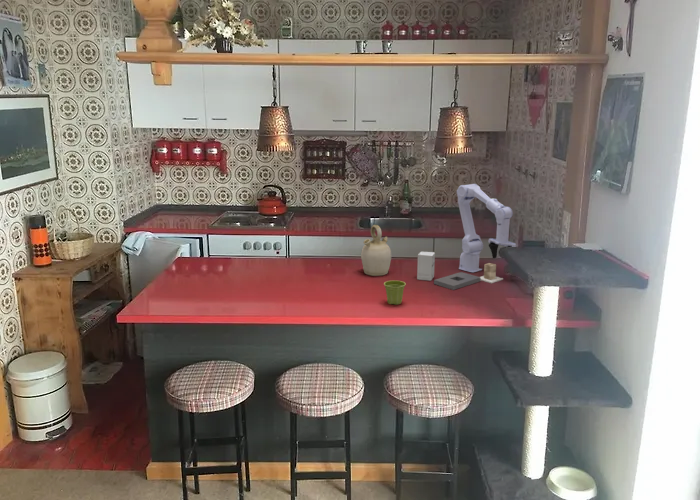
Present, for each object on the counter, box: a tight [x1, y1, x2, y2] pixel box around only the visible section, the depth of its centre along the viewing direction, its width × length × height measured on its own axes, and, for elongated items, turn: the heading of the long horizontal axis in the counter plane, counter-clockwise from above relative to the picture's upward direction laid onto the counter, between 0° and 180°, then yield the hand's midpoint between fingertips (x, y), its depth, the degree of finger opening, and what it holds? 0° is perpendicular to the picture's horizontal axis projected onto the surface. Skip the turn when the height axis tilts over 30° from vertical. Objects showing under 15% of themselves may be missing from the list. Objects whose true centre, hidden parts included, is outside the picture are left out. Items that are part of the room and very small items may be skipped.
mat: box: [480, 275, 504, 284], centre depth 288 cm, size 9×9×1 cm
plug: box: [483, 262, 497, 280], centre depth 287 cm, size 4×4×7 cm
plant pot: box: [383, 280, 406, 305], centre depth 255 cm, size 9×9×9 cm
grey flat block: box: [433, 271, 482, 291], centre depth 283 cm, size 12×20×2 cm, turn 130°
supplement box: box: [416, 251, 436, 282], centre depth 289 cm, size 7×7×13 cm
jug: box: [360, 224, 392, 277], centre depth 297 cm, size 15×16×25 cm
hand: (501, 259), depth 286 cm, fingers open, 7 cm apart
